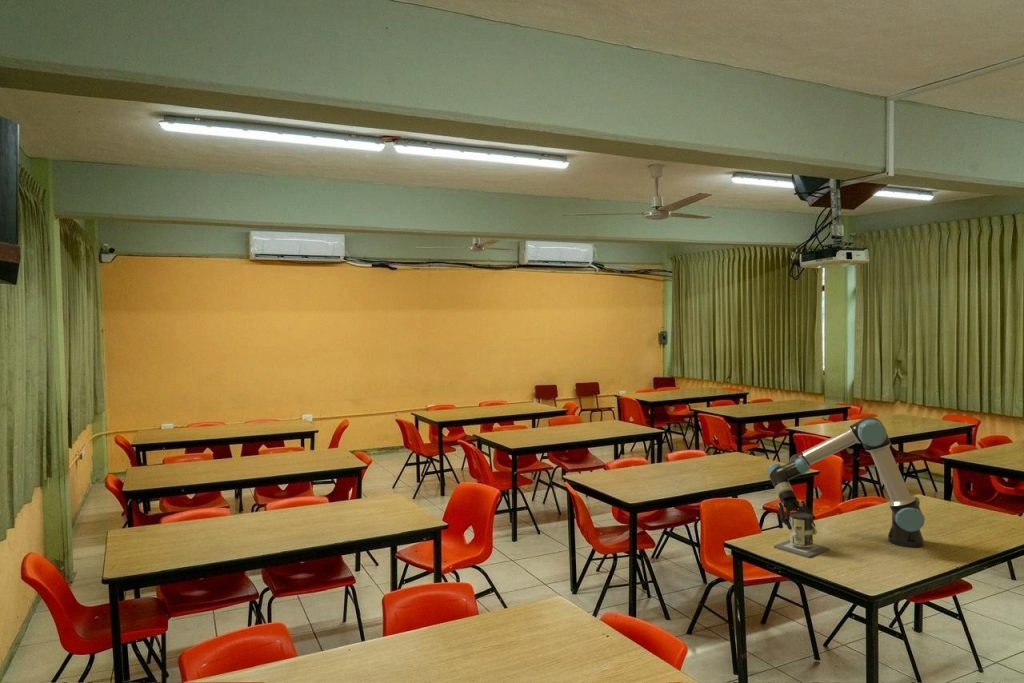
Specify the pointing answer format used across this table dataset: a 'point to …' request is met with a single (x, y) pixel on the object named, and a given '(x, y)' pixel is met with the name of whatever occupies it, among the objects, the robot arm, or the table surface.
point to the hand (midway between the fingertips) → (805, 534)
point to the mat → (802, 549)
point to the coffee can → (802, 529)
